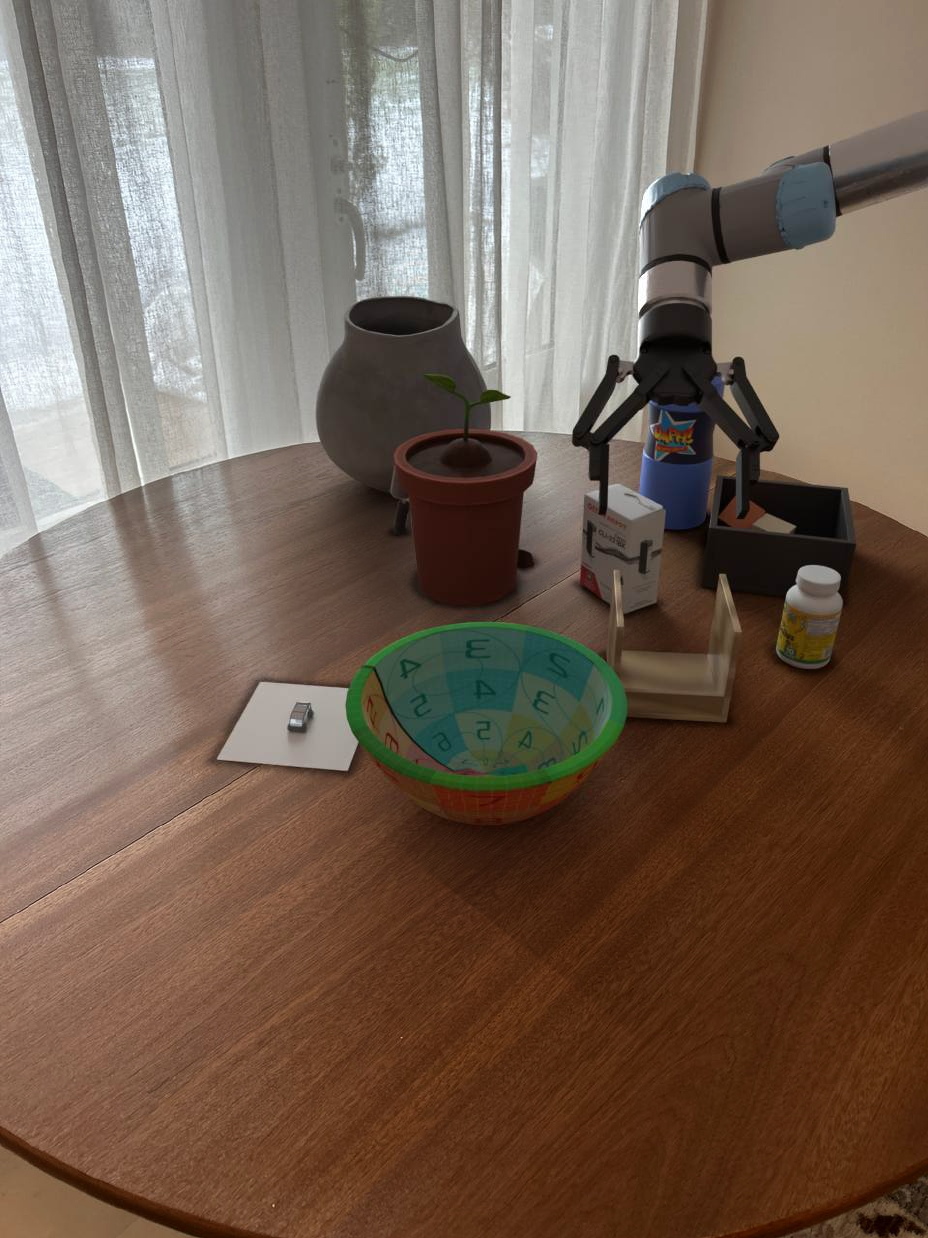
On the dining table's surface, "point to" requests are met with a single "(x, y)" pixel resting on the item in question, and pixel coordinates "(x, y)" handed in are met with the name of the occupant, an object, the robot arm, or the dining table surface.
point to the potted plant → (464, 506)
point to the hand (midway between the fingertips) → (672, 512)
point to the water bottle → (679, 461)
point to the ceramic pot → (394, 384)
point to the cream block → (773, 525)
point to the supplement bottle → (810, 618)
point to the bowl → (486, 718)
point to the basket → (780, 537)
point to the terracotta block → (729, 519)
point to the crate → (678, 667)
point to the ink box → (622, 546)
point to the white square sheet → (293, 728)
